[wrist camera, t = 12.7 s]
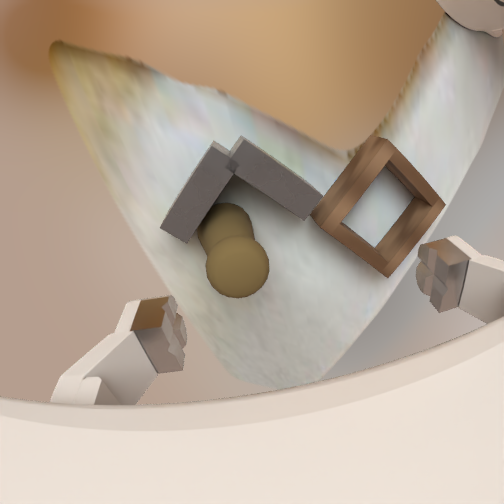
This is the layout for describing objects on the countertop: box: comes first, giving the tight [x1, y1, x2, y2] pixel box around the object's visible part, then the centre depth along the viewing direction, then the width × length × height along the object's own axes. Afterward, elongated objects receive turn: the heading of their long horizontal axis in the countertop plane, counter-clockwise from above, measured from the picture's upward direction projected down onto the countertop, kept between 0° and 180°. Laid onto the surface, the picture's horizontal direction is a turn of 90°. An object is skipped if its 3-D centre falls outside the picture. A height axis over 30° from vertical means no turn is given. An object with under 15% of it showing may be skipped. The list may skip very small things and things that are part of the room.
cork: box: [197, 203, 269, 298], centre depth 29 cm, size 6×6×11 cm
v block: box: [160, 136, 323, 243], centre depth 29 cm, size 8×16×5 cm, turn 100°
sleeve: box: [310, 135, 446, 278], centre depth 32 cm, size 12×12×4 cm
